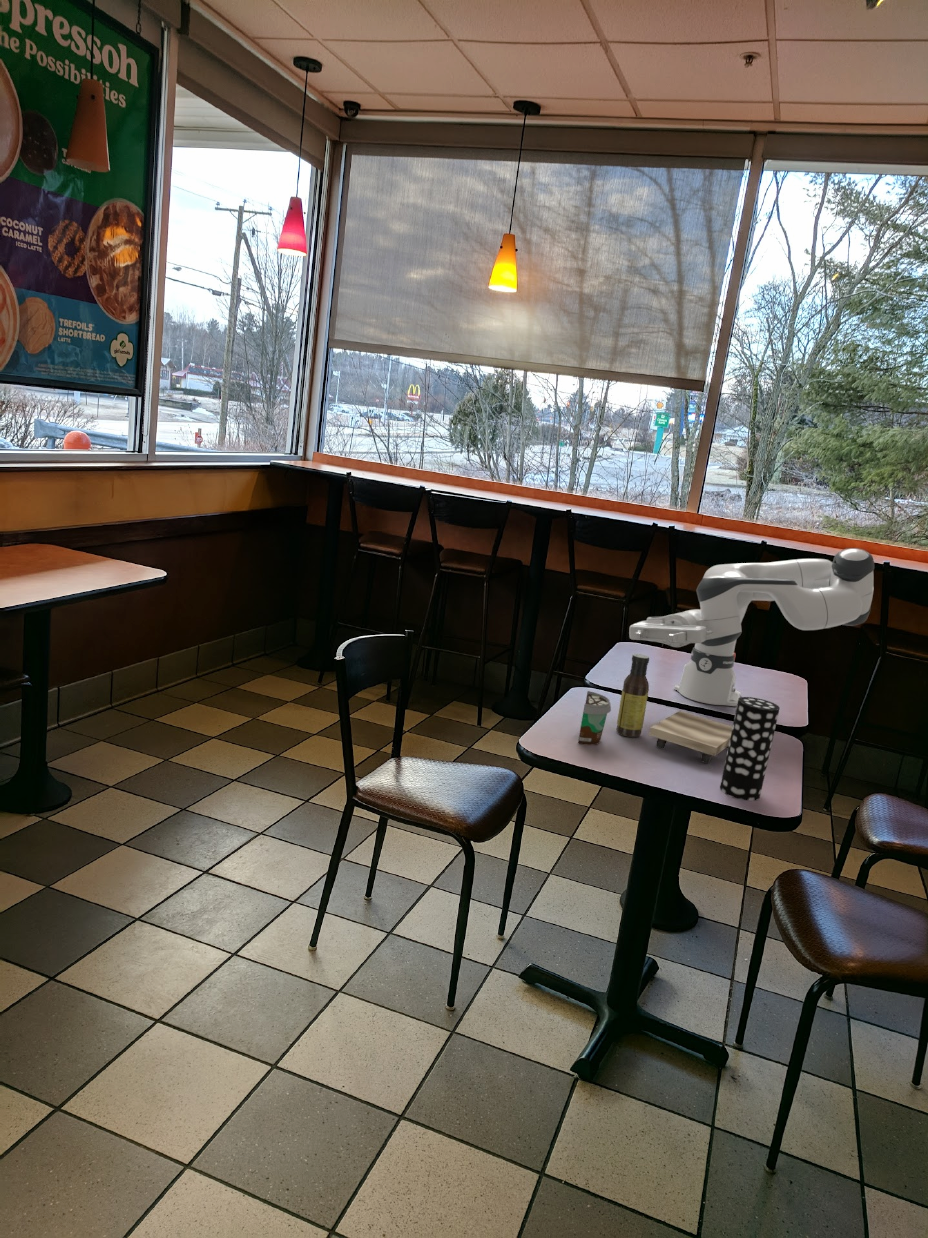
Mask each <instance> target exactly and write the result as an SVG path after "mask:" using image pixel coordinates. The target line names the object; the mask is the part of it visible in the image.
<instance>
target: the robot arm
mask: <svg viewBox="0 0 928 1238" xmlns="http://www.w3.org/2000/svg"><path fill="white" fill-rule="evenodd" d="M874 570H875V561H874V557H873V555H872V554H871V553H870V552H868V551H867V550H864V549H862V548H855V547H854V548H853V547H851V548H845V549H842V550H840V551H838V552H837V553H836V554H835V555H834V557H833V561H831V560H829V559H825V558H797V559H788V560H778V561H771V562H769V561H768V562H746V563H745V562H744V563H743V562H741V563H724V564H716V565H713V566H711V567H710V568H708V569H707V570H706V571H705V573H704V575H703V577H702V579H701V580H700V582H699V584H698V585H697V588H696V589H695V590H696V595H697V599H698V602H699V607H700V609H689V610H685V611H682V612H677V613H672V614H668V615H664V616H663V615H662V616H661V615H660V616H648V617H647V618H646V620H641V621H638V622H635V623H633V624H631V625H630V626H629V628H628V629H629V632H628V634H629V636H628V637H629V639H631V640H633V641H634V640H636V641H648V642H653V643H661V644H665V645H668V646H670V647H673V648H681V647H684V646H687V645H690V644H694V647H692V650H691V653H690V655H691V656H690V660H689V662H687V663H685V665H683V670H682V675H681V678H680V681H679V684H676V685H674V687H673V690H675V691H676V690H677V692H679V694H680V695H681V696H683V697H685V698H687V699H689V700H692V701H696V702H699V703H704V704H707V705H715V706H729V707H737V704H738V699H739V698H741V697H742V696H741V695H742V693H741V692H740V691H739V690H737V689H736V687H735V686H736V681H737V676H736V673H735V670H734V668H733V667H734V665H735V660H736V652H735V648H736V644H737V639H738V638H739V637H740V636H741V634H742V632H743V631H742V622H743V619H744V617H745V614H746V612H747V609H748V606H749V604H750V603H751V602H752V601H762V602H763V601H764V602H765V601H767V602H775V603H776V605H777V607H778V608H779V610H780V612H781V613H782V616H784V619H786V621H788V623H789V624H790V625H792V626H793V627H794V628H796V629H798V630H801V631H818V630H824V629H831V628H834V627H839V626H841V625H842V626H846V627H848V626H850V627H851V626H852V627H854V626H858V625H861V624H864V623H865V622H866V621H867V620H868V617H869V615H870V612H871V610H872V608H871V605H872V601H873V595H874Z"/></svg>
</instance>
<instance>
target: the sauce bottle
mask: <svg viewBox="0 0 928 1238" xmlns="http://www.w3.org/2000/svg"><path fill="white" fill-rule="evenodd" d="M649 661H650V657H649V656H648V655H645V654H641V653H640V654H639V653H634V654H632V657H631V667H630V671H629V674H628V675H627V676H626V677H625V679H624V681H623V686H622V691H621V698H620V700H619V701H620V703H619V708H618V715H617V721H616V732H618V733H617V734H619V735H620V736H624V737H628V738H636V737H639V736H641V734H642V730H643V728H644V727H643V726H644V721H645V714H646V710H647V709H646V708H647V703H648V701H647V700H648V696H649V690H650V689H649V688H650V687H649V685H650V683H649V681H648V679H647V676H646V675H647V671H648V670H647V669H648V665H649Z"/></svg>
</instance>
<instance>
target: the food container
mask: <svg viewBox="0 0 928 1238" xmlns="http://www.w3.org/2000/svg"><path fill="white" fill-rule="evenodd" d="M585 698H586V699H585V703H584V704H583V705H584V707H583V711H582V712H583V713H582V717H581V722H580V723H581V724H580V730H579V735H578V741H577V744H578V743H579V744H578V745H585V746H587V745H589V746H590V745H597V743H598V744H600V742H601V739H602V736H603V732H604V728H605V723H606V719H607V716H608V713H609V714H610V713H611V711H612V709H611V708H612V707H611V704H612V703H611V700H610V698H608V697H606V695H603V694H601V693H598V692H594V691H590V690H587V692H586V697H585Z"/></svg>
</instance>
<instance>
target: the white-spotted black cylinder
mask: <svg viewBox="0 0 928 1238" xmlns="http://www.w3.org/2000/svg"><path fill="white" fill-rule="evenodd" d="M780 708H781V707H780V706H779V705H778V704H776V703H774V702H772V701H769V700H766V699H763V698H758V697H752V696H740V698H739V699H738V703H737V706H736V710H735V715H734V718H733V724H732V726H733V728H732V732H731V737H730V742H729V747H728V748H727V752H726V757H725V761H724V766H723V770H722V771H723V772H722V774H721V775H722V776H721V781H720V784H719V789H720V791H721V792H723V793H724V794H725V795H727V796H729V797H732V798H735V799H739V800H740V801H741V800H742V801H750V802H751V801H758V800H759V799H760V798H761V794H762V789H763V785H764V780H765V776H766V772H767V767H768V762H769V757H770V753H771V749H772V744H773V740H774V736H775V732H776V726H777V722H778V718H779V712H780Z"/></svg>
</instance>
